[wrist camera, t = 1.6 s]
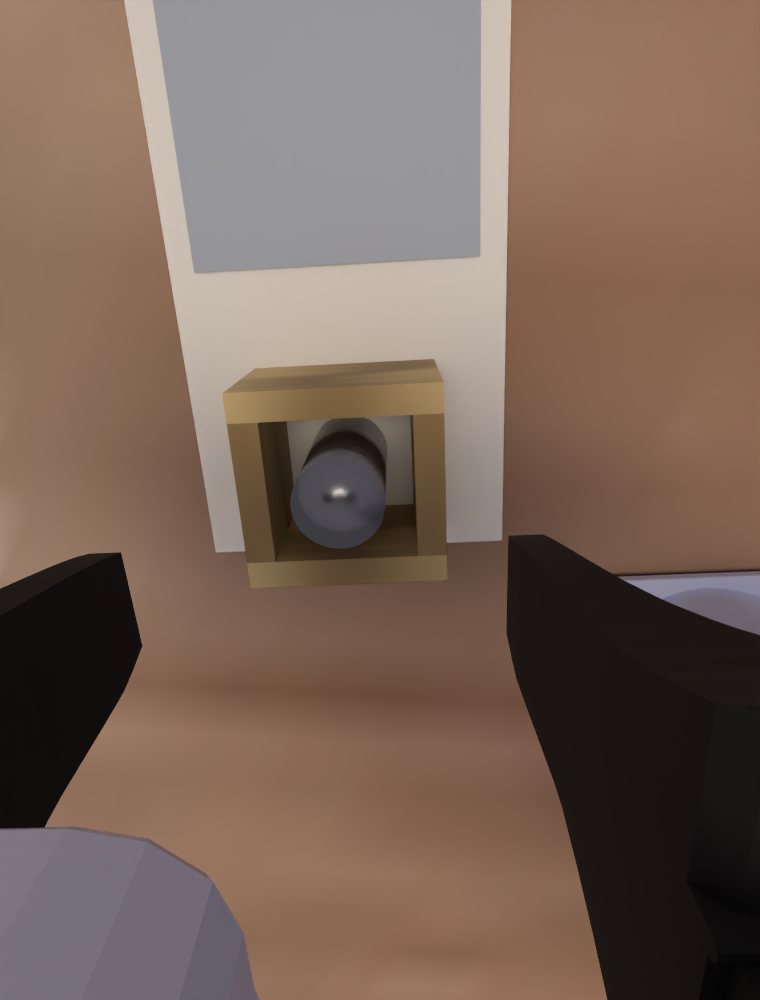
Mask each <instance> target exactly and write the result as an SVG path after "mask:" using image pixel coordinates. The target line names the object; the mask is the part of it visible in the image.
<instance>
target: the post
mask: <svg viewBox="0 0 760 1000" xmlns="http://www.w3.org/2000/svg"><path fill="white" fill-rule="evenodd" d="M386 465H387V445H386V440H385V437H384V435H383V433H382V431H381V430H380V429H379V427H378V426H377V425H376V424H375V423H373V422H372V421H371V420H369V419H367V418H365V417H361V418H340V419H330V420H329V421H327V422H326V423H325V424H324V425H323V426H322V427H321V429H320V430H319V432H318V433H317V436H316V438H315V440H314V442H313V445H312V447H311V449H310V451H309V453H308V456H307V458H306V460H305V462H304V465H303V467H302V469H301V471H300V474H299V476H298V478H297V480H296V483H295V485H294V487H293V490H292V493H291V499H290V507H291V513H292V516H293V519H294V521H295V523H296V525H297V527H298V528H299V530H300V531H301V532H302V533H303V534H304V535H305V536H306V537H307V538H309V539H310V540H312V541H313V542H315V543H317V544H319V545H322V546H325V547H328V548H335V549H343V548H350V547H354V546H357V545H359V544H361V543H363V542H365V541H366V540H368V539H369V538H370V537H371V536H373V535H374V533H375V532H376V531H377V530H378V528H379V527H380V525H381V523H382V521H383V517H384V513H385V496H386Z"/></svg>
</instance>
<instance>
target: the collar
mask: <svg viewBox="0 0 760 1000" xmlns="http://www.w3.org/2000/svg"><path fill="white" fill-rule="evenodd" d="M222 396H223V403H224V410H225V416H226V423H227V430H228V437H229V444H230V450H231V457H232V464H233V471H234V478H235V484H236V491H237V498H238V505H239V512H240V518H241V525H242V532H243V539H244V546H245V552H246V559H247V566H248V573H249V580H250V586H251V588H272V587H298V586H323V585H348V584H374V583H399V582H425V581H447V532H446V477H445V422H444V381H443V379H442V377H441V374H440V372H439V370H438V367H437V365H436V363H435V361H434V359H423V360H404V361H385V362H367V363H348V364H329V365H310V366H291V367H272V368H255V369H254V370H252V371H251V372H250V373H248V374H247V375H246V376H244V377H243V378H242V379H240V380H239V381H238V382H236V383H235V384H234V385H232V386H231V387H230V388H228V389H227V390H226V391H224V392H223V393H222ZM401 415H410V424H411V450H412V477H413V503H414V504H402V505H385V513H384V517H383V521H382V523H381V525H380V527H379V528H378V530H377V531H376V532H375V533H374V535H373V536H371V537H370V538H369V539H368V540H366V541H365V542H363V543H361V544H359V545H357V546H354V547H350V548H343V549H335V548H328V547H325V546H322V545H319V544H317V543H315V542H313V541H312V540H310V539H309V538H307V537H306V536H305V535H304V534H303V533H302V532H301V531H300V530H299V528H298V527H297V525H296V523H295V521H294V519H293V516H292V513H291V507H290V499H291V493H292V490H293V487H294V484H293V475H292V467H291V458H290V449H289V440H288V431H287V422H286V421H300V420H320V419H340V418H361V417H381V416H401Z"/></svg>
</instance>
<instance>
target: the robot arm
mask: <svg viewBox="0 0 760 1000" xmlns="http://www.w3.org/2000/svg"><path fill="white" fill-rule="evenodd" d="M507 637H508V642H509V647H510V651H511V656H512V661H513V665H514V670H515V674H516V678H517V681H518V684H519V687H520V690H521V693H522V695H523V698H524V701H525V704H526V706H527V709H528V712H529V715H530V717H531V720H532V723H533V726H534V728H535V731H536V734H537V736H538V739H539V742H540V745H541V747H542V750H543V753H544V755H545V758H546V761H547V764H548V766H549V769H550V772H551V774H552V777H553V780H554V783H555V786H556V789H557V792H558V795H559V799H560V802H561V805H562V808H563V812H564V816H565V820H566V824H567V828H568V832H569V836H570V840H571V844H572V848H573V852H574V856H575V860H576V864H577V868H578V872H579V876H580V881H581V885H582V889H583V893H584V898H585V902H586V906H587V910H588V914H589V919H590V923H591V927H592V931H593V936H594V940H595V945H596V949H597V954H598V959H599V963H600V968H601V972H602V977H603V981H604V986H605V990H606V995H607V999H608V1000H760V571H750V572H725V573H699V574H674V575H648V576H623V577H617V576H615V575H613V574H611V573H610V572H608V571H606V570H604V569H603V568H601V567H599V566H597V565H596V564H594V563H592V562H591V561H589V560H587V559H585V558H584V557H582V556H580V555H579V554H577V553H575V552H574V551H572V550H570V549H569V548H567V547H565V546H564V545H562V544H560V543H559V542H557V541H555V540H553V539H551V538H549V537H547V536H545V535H519V536H509V542H508V590H507ZM141 648H142V643H141V639H140V634H139V630H138V625H137V621H136V617H135V612H134V608H133V603H132V599H131V595H130V590H129V586H128V581H127V577H126V573H125V568H124V564H123V559H122V555H121V553H98V554H87V555H83V556H79V557H76V558H73V559H70V560H67V561H64V562H62V563H59V564H57V565H54V566H52V567H49V568H47V569H45V570H42V571H40V572H37V573H35V574H33V575H31V576H28V577H26V578H24V579H21V580H19V581H17V582H15V583H12V584H10V585H8V586H6V587H3V588H1V589H0V1000H259V998H258V996H257V993H256V991H255V988H254V984H253V979H252V974H251V969H250V964H249V959H248V954H247V949H246V943H245V938H244V933H243V932H242V930H241V928H240V926H239V925H238V923H237V921H236V920H235V918H234V916H233V915H232V913H231V911H230V910H229V908H228V906H227V904H226V903H225V901H224V899H223V898H222V896H221V894H220V893H219V891H218V889H217V888H216V886H215V884H214V882H213V881H212V880H211V879H210V878H209V877H208V876H207V874H206V873H204V872H202V871H201V870H199V869H198V868H196V867H194V866H193V865H191V864H189V863H188V862H186V861H184V860H183V859H181V858H179V857H178V856H176V855H174V854H173V853H171V852H170V851H168V850H166V849H165V848H163V847H161V846H160V845H158V844H156V843H155V842H153V841H151V840H150V839H147V838H141V837H135V836H129V835H123V834H117V833H112V832H106V831H100V830H94V829H88V828H82V827H49V828H45V825H46V823H47V821H48V819H49V818H50V816H51V814H52V812H53V810H54V808H55V807H56V805H57V803H58V801H59V799H60V797H61V796H62V794H63V792H64V791H65V789H66V787H67V786H68V784H69V782H70V781H71V779H72V777H73V776H74V774H75V773H76V771H77V769H78V768H79V766H80V764H81V763H82V761H83V759H84V758H85V756H86V754H87V753H88V751H89V749H90V748H91V746H92V744H93V743H94V741H95V739H96V738H97V736H98V734H99V733H100V731H101V730H102V728H103V726H104V725H105V723H106V721H107V719H108V718H109V716H110V714H111V713H112V711H113V709H114V708H115V706H116V704H117V702H118V701H119V699H120V697H121V695H122V694H123V692H124V690H125V687H126V685H127V683H128V681H129V678H130V676H131V674H132V671H133V669H134V666H135V663H136V661H137V658H138V656H139V653H140V650H141Z"/></svg>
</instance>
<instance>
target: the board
mask: <svg viewBox="0 0 760 1000" xmlns="http://www.w3.org/2000/svg"><path fill="white" fill-rule="evenodd" d="M124 2H125V8H126V14H127V20H128V26H129V32H130V38H131V44H132V50H133V56H134V62H135V68H136V74H137V80H138V86H139V92H140V98H141V104H142V110H143V116H144V122H145V128H146V134H147V140H148V146H149V152H150V158H151V164H152V170H153V176H154V182H155V188H156V194H157V200H158V206H159V212H160V219H161V225H162V231H163V237H164V243H165V249H166V255H167V261H168V267H169V273H170V279H171V285H172V291H173V297H174V303H175V309H176V315H177V321H178V327H179V333H180V339H181V345H182V351H183V357H184V363H185V369H186V375H187V381H188V387H189V393H190V399H191V405H192V411H193V417H194V423H195V429H196V435H197V441H198V447H199V453H200V459H201V465H202V472H203V478H204V484H205V490H206V496H207V502H208V508H209V514H210V520H211V526H212V532H213V538H214V544H215V550H216V552H239V551H245V546H244V539H243V532H242V525H241V518H240V512H239V505H238V498H237V491H236V484H235V478H234V471H233V464H232V457H231V450H230V444H229V437H228V430H227V423H226V416H225V410H224V403H223V396H222V393H223V392H224V391H226V390H227V389H228V388H230V387H231V386H232V385H234V384H235V383H236V382H238V381H239V380H240V379H242V378H243V377H244V376H246V375H247V374H248V373H250V372H251V371H252V370H254V369H255V368H272V367H291V366H310V365H329V364H348V363H367V362H385V361H404V360H423V359H434V361H435V363H436V365H437V367H438V370H439V372H440V374H441V377H442V379H443V381H444V422H445V477H446V532H447V543H455V542H479V541H502V509H503V450H504V391H505V332H506V273H507V214H508V155H509V96H510V37H511V0H124ZM365 418H367V419H369V420H371V421H372V422H373V423H375V424H376V425H377V426H378V427H379V429H380V430H381V431H382V433H383V435H384V437H385V440H386V445H387V465H386V496H385V505H402V504H414V503H413V477H412V450H411V424H410V415H401V416H381V417H365ZM329 420H330V419H320V420H300V421H286V422H287V431H288V440H289V449H290V458H291V467H292V475H293V484H294V485H295V483H296V480H297V478H298V476H299V474H300V471H301V469H302V467H303V465H304V462H305V460H306V458H307V456H308V453H309V451H310V449H311V447H312V445H313V442H314V440H315V438H316V436H317V433H318V432H319V430H320V429H321V427H322V426H323V425H324V424H325V423H326V422H327V421H329Z"/></svg>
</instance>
